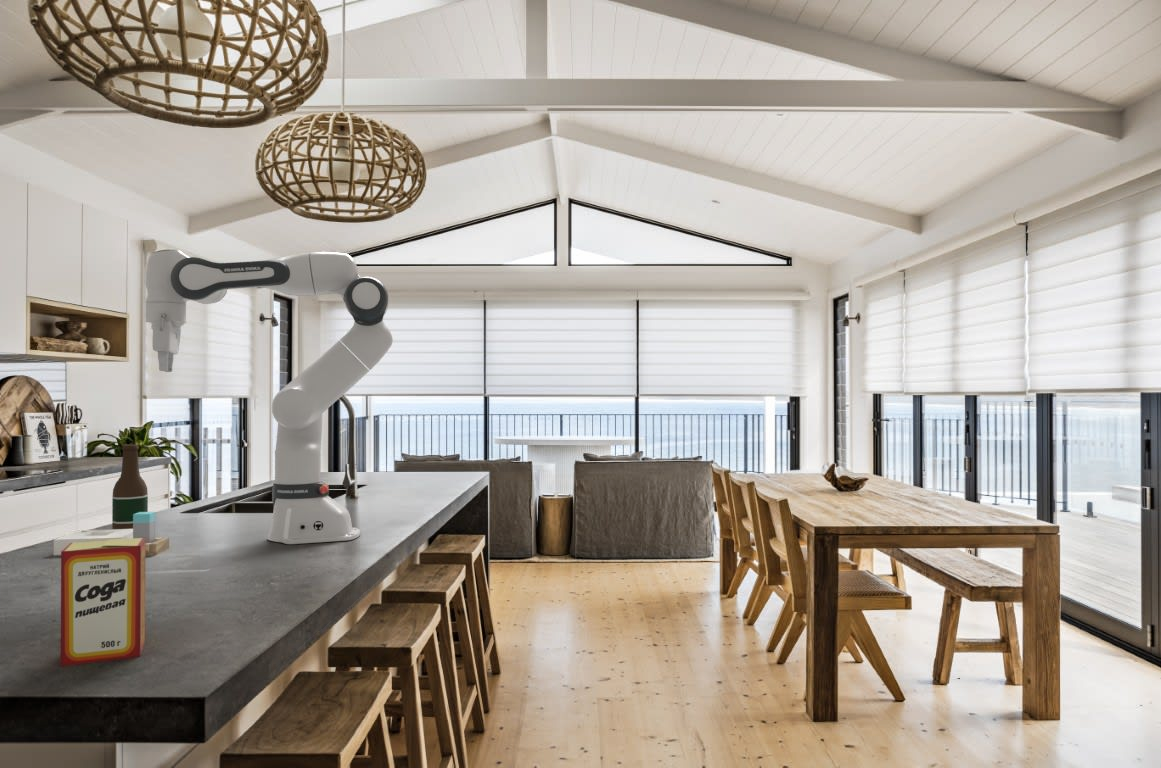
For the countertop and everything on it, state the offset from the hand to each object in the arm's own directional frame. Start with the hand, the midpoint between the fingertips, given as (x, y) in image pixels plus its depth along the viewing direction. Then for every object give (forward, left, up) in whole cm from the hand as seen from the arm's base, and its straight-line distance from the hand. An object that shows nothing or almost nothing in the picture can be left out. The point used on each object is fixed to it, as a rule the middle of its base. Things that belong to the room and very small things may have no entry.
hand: (165, 371), depth 190 cm
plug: (0, +13, -42) cm, 44 cm away
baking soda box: (-21, +85, -43) cm, 97 cm away
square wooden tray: (0, +13, -42) cm, 44 cm away
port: (+12, +7, -42) cm, 45 cm away
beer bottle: (+11, -8, -43) cm, 45 cm away
